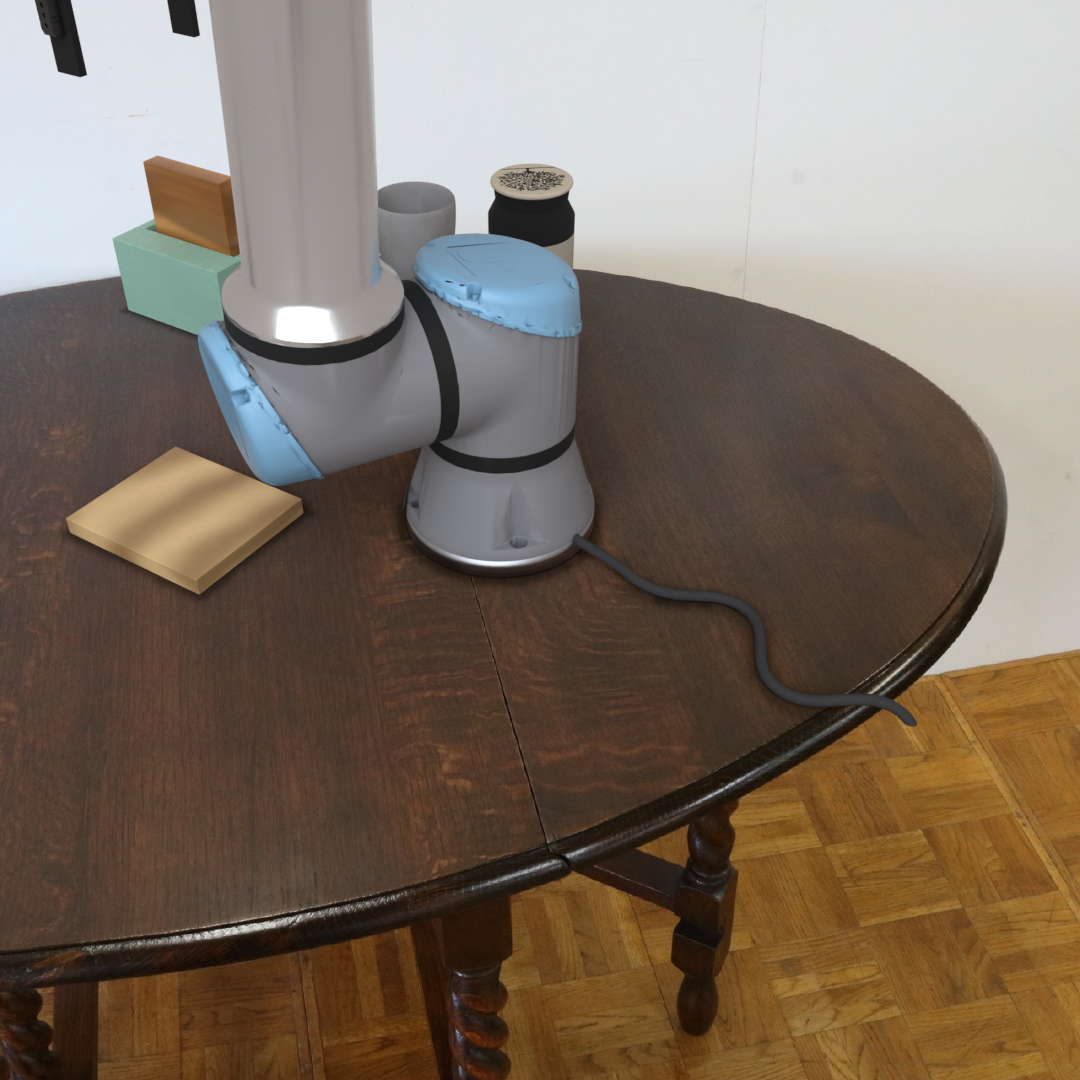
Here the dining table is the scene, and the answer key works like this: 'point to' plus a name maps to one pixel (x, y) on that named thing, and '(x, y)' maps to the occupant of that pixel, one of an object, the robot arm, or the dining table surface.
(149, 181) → the toast
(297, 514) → the board
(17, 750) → the dining table surface
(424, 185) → the mug
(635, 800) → the dining table surface
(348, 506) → the dining table surface
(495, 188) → the travel mug
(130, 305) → the toaster
